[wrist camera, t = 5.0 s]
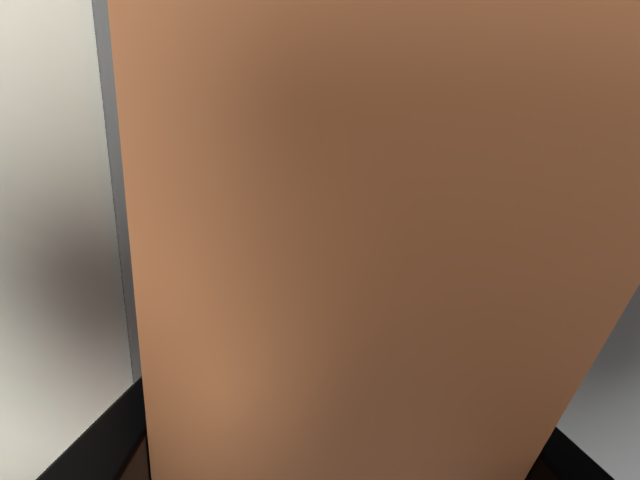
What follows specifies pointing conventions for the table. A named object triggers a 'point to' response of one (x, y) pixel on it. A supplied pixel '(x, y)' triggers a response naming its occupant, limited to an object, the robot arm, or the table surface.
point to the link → (373, 227)
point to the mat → (583, 410)
